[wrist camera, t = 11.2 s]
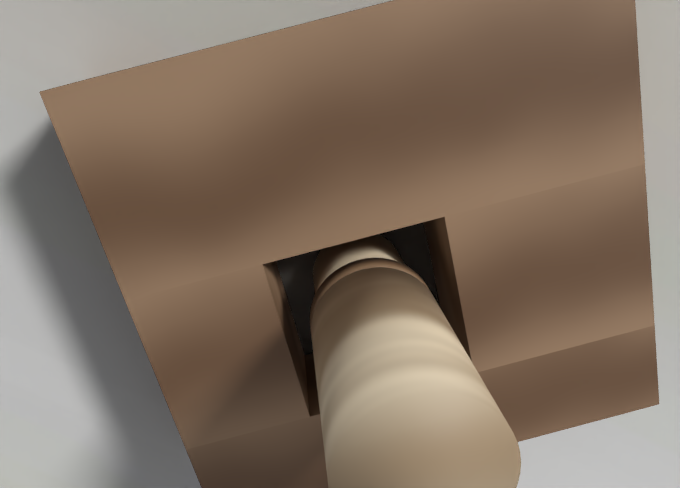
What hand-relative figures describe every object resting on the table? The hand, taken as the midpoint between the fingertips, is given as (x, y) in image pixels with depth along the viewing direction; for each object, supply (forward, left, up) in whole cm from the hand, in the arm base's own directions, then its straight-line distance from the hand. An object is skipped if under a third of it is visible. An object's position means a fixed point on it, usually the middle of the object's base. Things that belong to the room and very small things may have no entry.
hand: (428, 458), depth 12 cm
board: (-1, +1, -11) cm, 11 cm away
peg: (0, 0, -11) cm, 11 cm away
